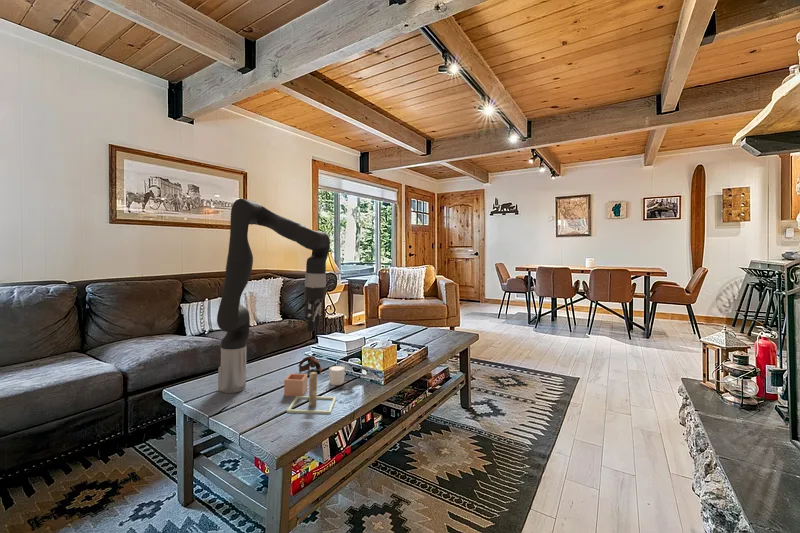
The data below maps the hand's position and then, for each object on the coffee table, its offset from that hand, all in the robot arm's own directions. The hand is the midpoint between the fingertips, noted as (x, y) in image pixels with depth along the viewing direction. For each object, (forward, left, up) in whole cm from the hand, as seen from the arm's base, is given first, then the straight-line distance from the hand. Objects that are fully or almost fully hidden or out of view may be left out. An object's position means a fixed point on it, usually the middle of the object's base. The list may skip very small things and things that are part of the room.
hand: (313, 328), depth 130 cm
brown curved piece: (-8, +31, -28) cm, 43 cm away
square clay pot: (-8, +6, -28) cm, 29 cm away
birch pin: (+2, -5, -27) cm, 28 cm away
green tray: (+1, -5, -28) cm, 28 cm away
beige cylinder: (+6, +17, -28) cm, 33 cm away
